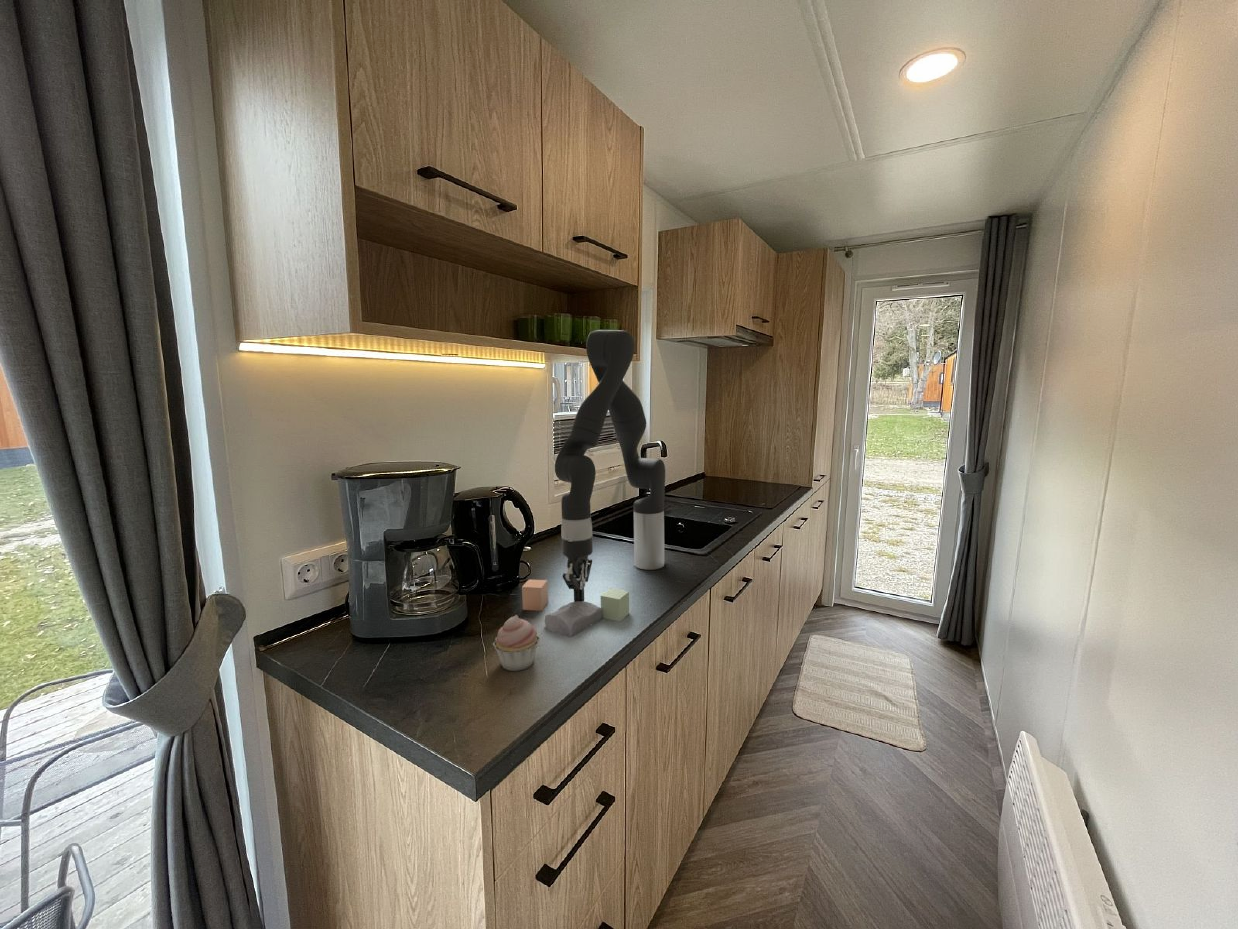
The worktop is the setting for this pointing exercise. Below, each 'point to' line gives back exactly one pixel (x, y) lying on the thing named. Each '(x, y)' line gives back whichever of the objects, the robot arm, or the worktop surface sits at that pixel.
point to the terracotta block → (535, 594)
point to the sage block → (615, 604)
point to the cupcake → (516, 644)
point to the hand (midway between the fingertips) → (579, 602)
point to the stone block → (573, 618)
